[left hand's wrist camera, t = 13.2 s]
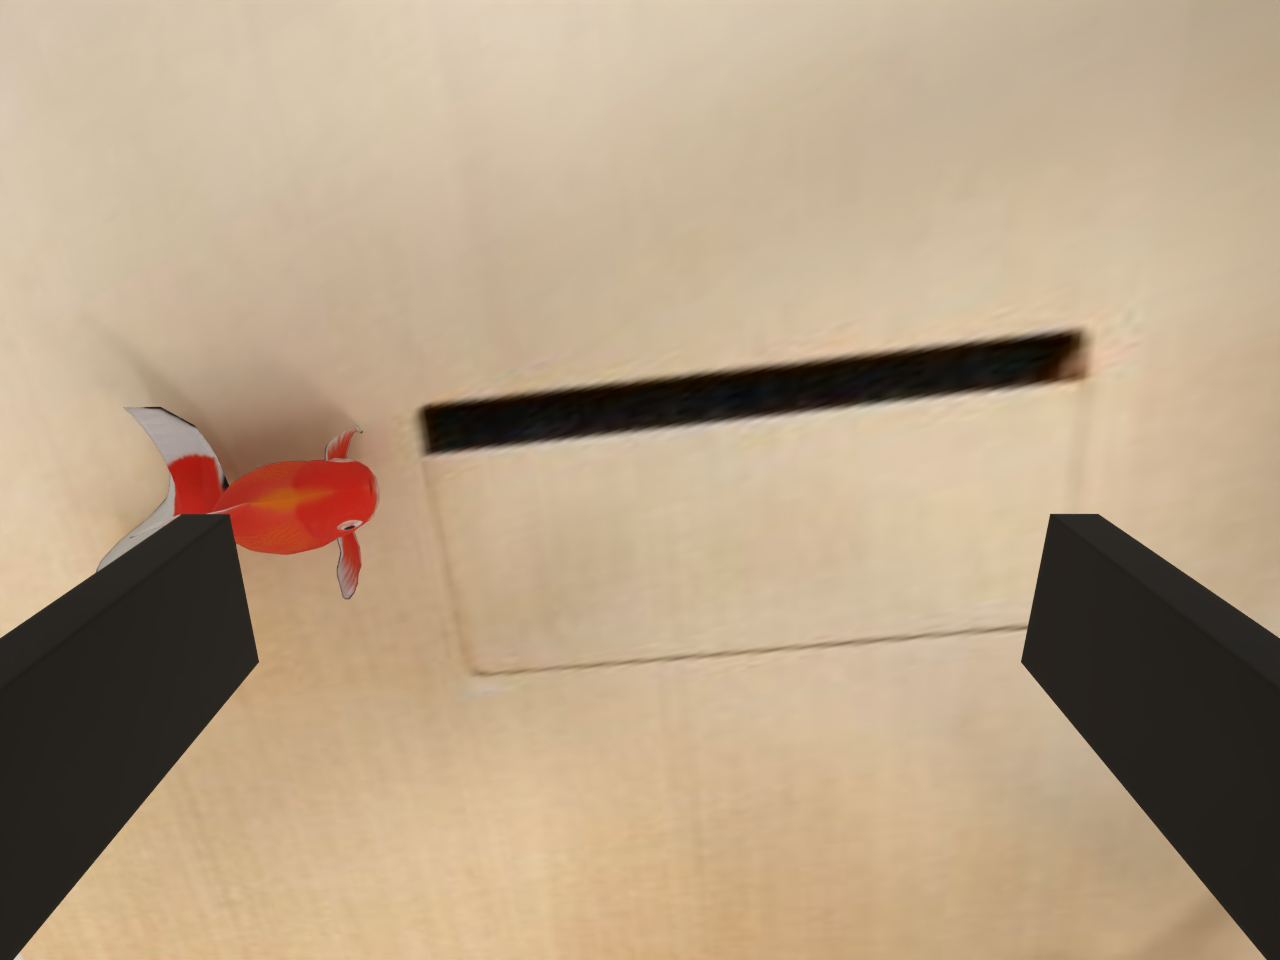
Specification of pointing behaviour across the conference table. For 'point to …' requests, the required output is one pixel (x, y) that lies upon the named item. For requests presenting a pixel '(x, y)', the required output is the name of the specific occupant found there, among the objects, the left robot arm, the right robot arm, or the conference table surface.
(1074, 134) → the conference table surface
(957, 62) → the conference table surface
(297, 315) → the conference table surface
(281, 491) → the fish
